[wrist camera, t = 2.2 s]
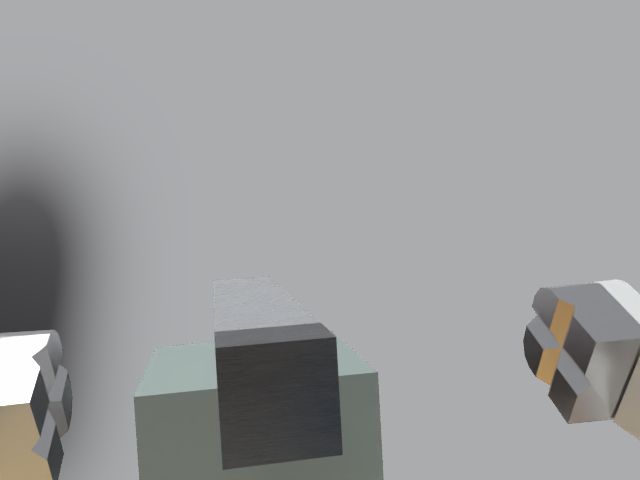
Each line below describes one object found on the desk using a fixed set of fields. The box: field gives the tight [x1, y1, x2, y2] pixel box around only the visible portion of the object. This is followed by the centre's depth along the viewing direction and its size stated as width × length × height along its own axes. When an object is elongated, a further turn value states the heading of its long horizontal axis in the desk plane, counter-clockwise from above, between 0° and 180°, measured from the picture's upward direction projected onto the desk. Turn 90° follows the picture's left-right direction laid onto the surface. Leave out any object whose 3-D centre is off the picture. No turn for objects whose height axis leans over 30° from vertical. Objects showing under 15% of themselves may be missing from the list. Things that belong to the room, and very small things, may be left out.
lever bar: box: [213, 276, 343, 470], centre depth 32 cm, size 24×4×4 cm, turn 10°
